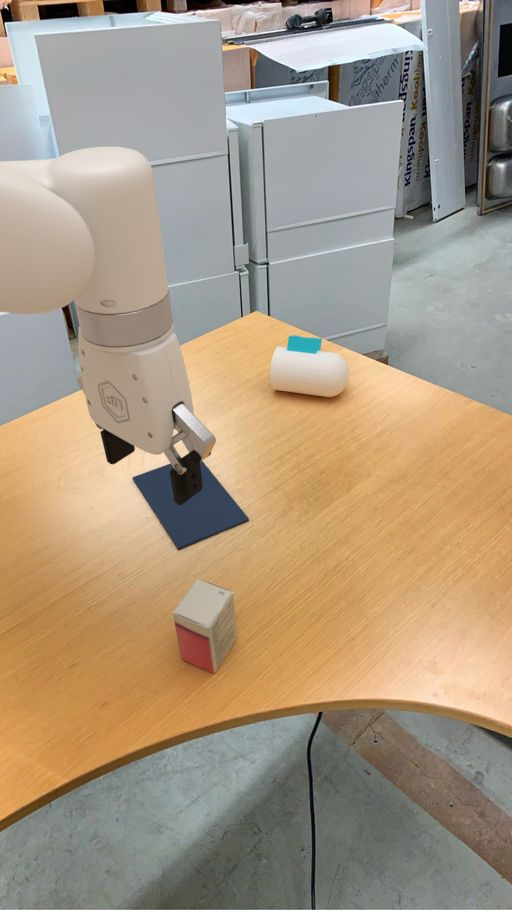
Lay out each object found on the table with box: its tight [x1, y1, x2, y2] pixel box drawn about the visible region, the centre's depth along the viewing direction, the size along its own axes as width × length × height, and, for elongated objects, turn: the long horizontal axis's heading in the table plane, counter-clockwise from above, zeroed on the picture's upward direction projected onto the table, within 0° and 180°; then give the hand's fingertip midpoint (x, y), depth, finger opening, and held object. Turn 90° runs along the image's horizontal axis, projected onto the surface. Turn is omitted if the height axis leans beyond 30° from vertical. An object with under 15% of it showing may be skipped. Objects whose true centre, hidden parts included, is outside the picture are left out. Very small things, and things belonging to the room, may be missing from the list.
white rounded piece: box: [269, 334, 350, 398], centre depth 108 cm, size 12×9×12 cm
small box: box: [172, 578, 238, 674], centre depth 67 cm, size 5×4×8 cm
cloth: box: [132, 460, 250, 551], centre depth 88 cm, size 10×16×1 cm, turn 29°
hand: (154, 476), depth 64 cm, fingers open, 9 cm apart
